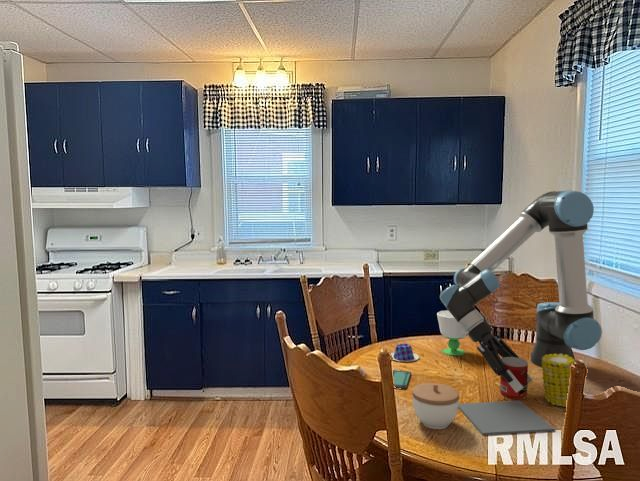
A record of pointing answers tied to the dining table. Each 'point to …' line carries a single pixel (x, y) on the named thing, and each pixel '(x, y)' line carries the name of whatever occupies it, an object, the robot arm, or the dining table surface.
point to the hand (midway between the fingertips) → (524, 386)
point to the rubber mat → (504, 418)
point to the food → (556, 377)
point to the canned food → (521, 374)
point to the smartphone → (401, 378)
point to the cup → (451, 332)
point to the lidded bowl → (435, 404)
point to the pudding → (404, 353)
